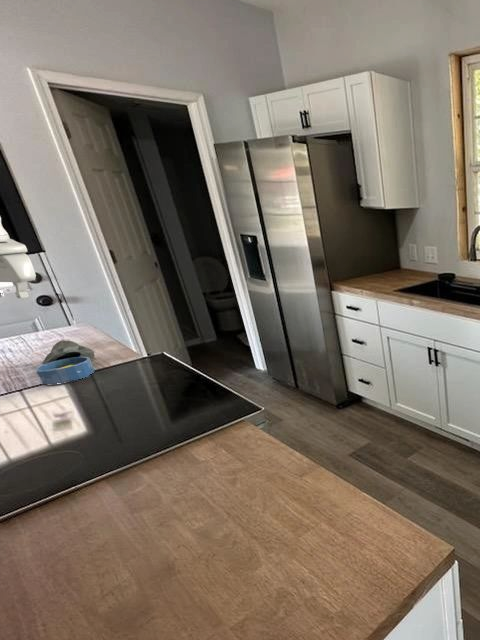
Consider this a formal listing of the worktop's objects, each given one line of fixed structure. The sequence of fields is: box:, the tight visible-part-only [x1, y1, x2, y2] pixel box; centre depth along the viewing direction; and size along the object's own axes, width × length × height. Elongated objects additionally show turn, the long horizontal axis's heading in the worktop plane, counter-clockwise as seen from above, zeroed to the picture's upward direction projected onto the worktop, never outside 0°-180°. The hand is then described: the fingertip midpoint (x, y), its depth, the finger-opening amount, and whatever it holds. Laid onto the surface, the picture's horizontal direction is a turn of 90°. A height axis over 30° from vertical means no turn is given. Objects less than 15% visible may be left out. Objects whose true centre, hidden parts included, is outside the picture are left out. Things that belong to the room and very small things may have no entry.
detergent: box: [41, 339, 95, 365], centre depth 145 cm, size 13×7×25 cm
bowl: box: [34, 357, 96, 386], centre depth 132 cm, size 12×12×5 cm
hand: (11, 297), depth 115 cm, fingers open, 8 cm apart
